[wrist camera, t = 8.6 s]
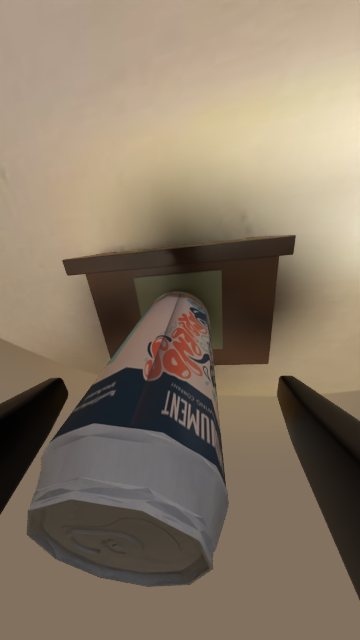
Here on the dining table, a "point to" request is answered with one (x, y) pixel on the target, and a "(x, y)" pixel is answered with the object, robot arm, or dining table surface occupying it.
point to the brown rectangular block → (193, 290)
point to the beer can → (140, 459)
